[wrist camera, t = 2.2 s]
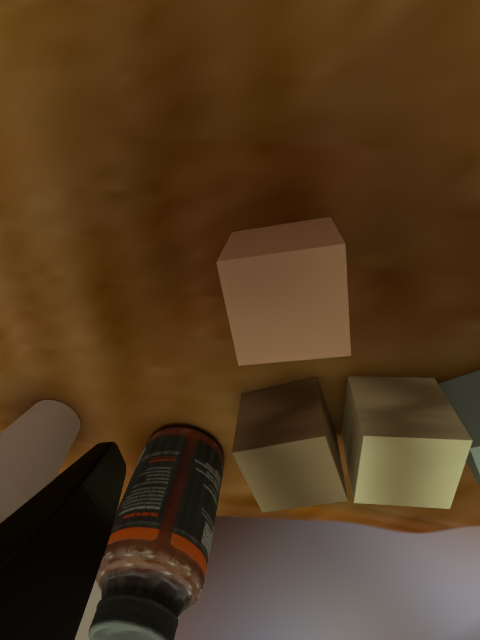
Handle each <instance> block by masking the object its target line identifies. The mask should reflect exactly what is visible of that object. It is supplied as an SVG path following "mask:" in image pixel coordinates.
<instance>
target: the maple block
mask: <svg viewBox="0 0 480 640" xmlns="http://www.w3.org/2000/svg"><path fill="white" fill-rule="evenodd" d="M341 437H342V442H343V448H344V453H345V458H346V463H347V469H348V474H349V479H350V484H351V490H352V495H353V500H354V503H366V504H382V505H397V506H413V507H429V508H445V509H450V507H451V504H452V501H453V498H454V495H455V492H456V489H457V486H458V483H459V480H460V477H461V474H462V471H463V468H464V465H465V462H466V459H467V456H468V453H469V450H470V447H471V444H472V441H473V440H472V438H471V437H470V435H469V434H468V432H467V430H466V429H465V427H464V425H463V424H462V422H461V421H460V419H459V417H458V416H457V414H456V412H455V411H454V409H453V408H452V406H451V404H450V403H449V401H448V399H447V398H446V396H445V395H444V393H443V391H442V390H441V388H440V386H439V385H438V383H437V382H436V380H435V378H418V377H372V376H348V378H347V388H346V397H345V407H344V416H343V426H342V435H341Z"/></svg>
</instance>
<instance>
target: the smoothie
mask: <svg viewBox="0 0 480 640" xmlns="http://www.w3.org/2000/svg"><path fill="white" fill-rule="evenodd" d="M80 427H81V423H80V419H79V417H78V416H77V414H76V413H75V412H74V411H73V410H72V409H71V408H70V407H68V406H67V405H65V404H63V403H61V402H58V401H55V400H42V401H39V402H37V403H36V404H35V405H34V406H32V407H31V408H30V409H29V410H28V411H26V412H25V413H24V414H23V415H22V416H20V417H19V418H18V419H17V420H15V421H14V422H13V423H12V424H11V425H9V426H8V427H7V428H6V429H5V430H3V431H2V432H1V433H0V523H1V522H3V521H4V520H5V519H6V518H7V517H9V516H10V515H11V514H12V513H14V512H15V511H16V510H17V509H18V508H20V507H21V506H22V505H23V504H25V503H26V502H27V501H28V500H29V499H31V498H32V497H33V496H34V495H36V494H37V493H38V492H39V491H40V490H42V489H43V488H44V487H45V486H47V485H48V484H49V483H50V482H51V481H53V480H54V479H55V478H56V476H57V474H58V472H59V470H60V468H61V466H62V464H63V462H64V460H65V458H66V456H67V454H68V452H69V450H70V448H71V446H72V444H73V442H74V440H75V438H76V436H77V435H78V433H79V431H80Z"/></svg>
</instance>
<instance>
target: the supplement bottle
mask: <svg viewBox="0 0 480 640" xmlns="http://www.w3.org/2000/svg"><path fill="white" fill-rule="evenodd" d="M223 467H224V458H223V453H222V451H221V449H220V447H219V446H218V445H217V444H216V442H215V441H214V440H213V439H211V438H210V437H209V436H207V435H206V434H203V433H202V432H199V431H197V430H194V429H190V428H185V427H173V428H167V429H163V430H161V431H159V432H157V433H155V434H154V435H153V436H152V437H151V438H150V439H149V441H148V442H147V444H146V446H145V448H144V450H143V452H142V454H141V457H140V459H139V461H138V464H137V466H136V468H135V471H134V473H133V475H132V478H131V480H130V482H129V484H128V487H127V489H126V492H125V494H124V496H123V499H122V501H121V503H120V506H119V508H118V510H117V513H116V516H115V520H114V524H113V528H112V532H111V535H110V538H109V541H108V544H107V547H106V550H105V553H104V556H103V559H102V562H101V565H100V568H99V570H98V573H97V576H96V581H97V584H98V586H99V588H100V589H101V591H102V599H101V600H100V601H99V603H98V605H97V611H96V613H95V616H94V619H93V621H92V624H91V626H90V629H89V639H90V640H174V637H175V632H176V629H177V626H178V619H177V617H178V616H179V615H180V614H181V613H182V612H183V611H185V610H187V609H188V608H190V607H191V606H192V605H193V604H194V603H195V602H196V601H197V599H198V598H199V596H200V594H201V592H202V588H203V584H204V580H205V574H206V568H207V563H208V558H209V552H210V546H211V540H212V534H213V527H214V523H215V517H216V510H217V505H218V499H219V493H220V487H221V481H222V476H223Z"/></svg>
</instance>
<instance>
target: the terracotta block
mask: <svg viewBox="0 0 480 640" xmlns="http://www.w3.org/2000/svg"><path fill="white" fill-rule="evenodd" d="M216 264H217V268H218V273H219V278H220V282H221V287H222V291H223V296H224V301H225V305H226V310H227V315H228V319H229V324H230V329H231V333H232V338H233V343H234V347H235V352H236V356H237V361H238V366H240V365H251V364H263V363H275V362H286V361H298V360H309V359H321V358H333V357H344V356H351V345H350V325H349V304H348V284H347V263H346V243H345V242H344V240H343V238H342V236H341V234H340V233H339V231H338V229H337V227H336V225H335V224H334V222H333V220H332V218H331V217H325V218H319V219H312V220H306V221H300V222H293V223H287V224H280V225H274V226H267V227H261V228H255V229H248V230H242V231H235V232H232V233H231V235H230V237H229V239H228V241H227V243H226V244H225V246H224V248H223V250H222V252H221V254H220V255H219V257H218V259H217V261H216Z"/></svg>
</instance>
